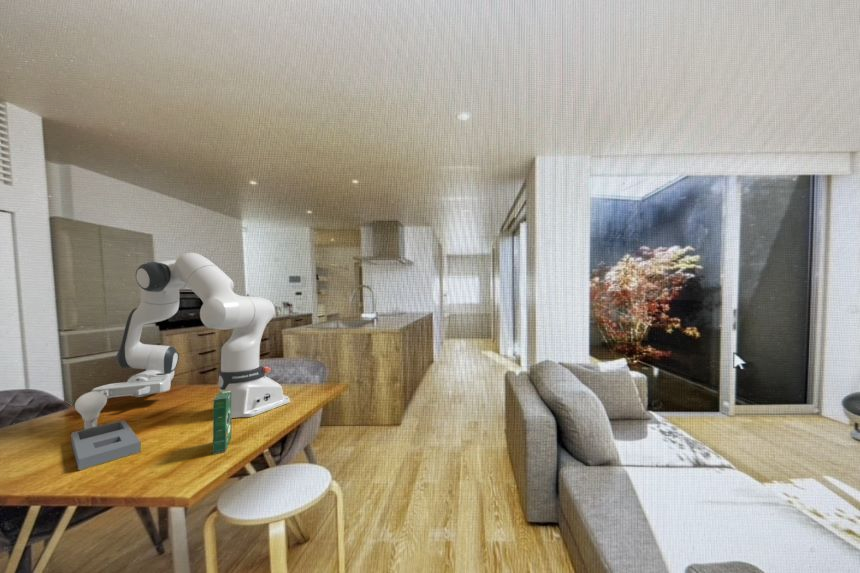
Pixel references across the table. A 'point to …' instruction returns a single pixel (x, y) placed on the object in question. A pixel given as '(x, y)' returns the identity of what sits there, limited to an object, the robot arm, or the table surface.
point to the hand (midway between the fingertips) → (118, 395)
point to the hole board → (104, 444)
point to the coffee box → (221, 421)
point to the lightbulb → (90, 407)
